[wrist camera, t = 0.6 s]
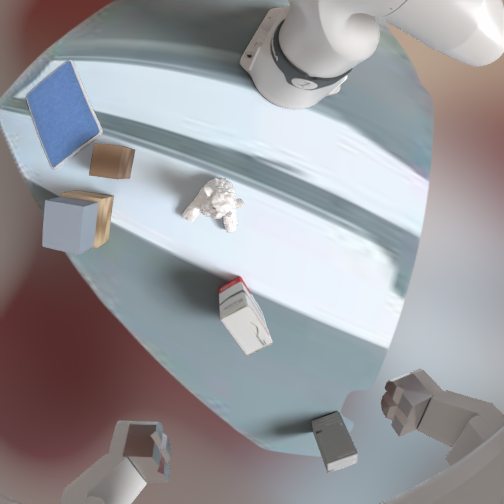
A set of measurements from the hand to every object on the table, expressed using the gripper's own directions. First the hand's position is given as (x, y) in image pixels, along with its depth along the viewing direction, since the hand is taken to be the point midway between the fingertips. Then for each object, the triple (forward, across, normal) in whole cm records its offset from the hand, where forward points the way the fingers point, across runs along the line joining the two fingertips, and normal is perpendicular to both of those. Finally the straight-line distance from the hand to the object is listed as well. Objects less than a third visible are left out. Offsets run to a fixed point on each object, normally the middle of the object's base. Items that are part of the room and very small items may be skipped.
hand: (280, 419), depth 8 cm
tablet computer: (+44, +29, -24) cm, 58 cm away
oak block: (+43, +24, -4) cm, 49 cm away
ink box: (+43, -1, +16) cm, 45 cm away
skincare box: (+42, -21, +58) cm, 75 cm away
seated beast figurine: (+43, +1, -3) cm, 43 cm away
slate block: (+37, +24, -4) cm, 44 cm away
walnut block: (+43, +17, -12) cm, 48 cm away
